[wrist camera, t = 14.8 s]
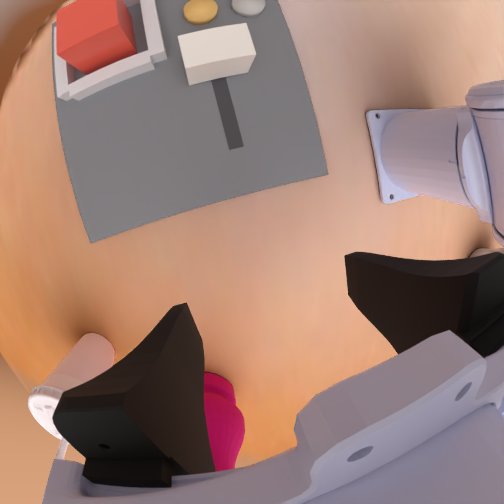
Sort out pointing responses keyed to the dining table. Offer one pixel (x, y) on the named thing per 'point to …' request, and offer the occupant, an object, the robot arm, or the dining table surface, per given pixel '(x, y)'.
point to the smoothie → (70, 380)
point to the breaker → (217, 52)
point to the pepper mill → (222, 421)
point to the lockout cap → (94, 34)
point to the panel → (184, 119)
